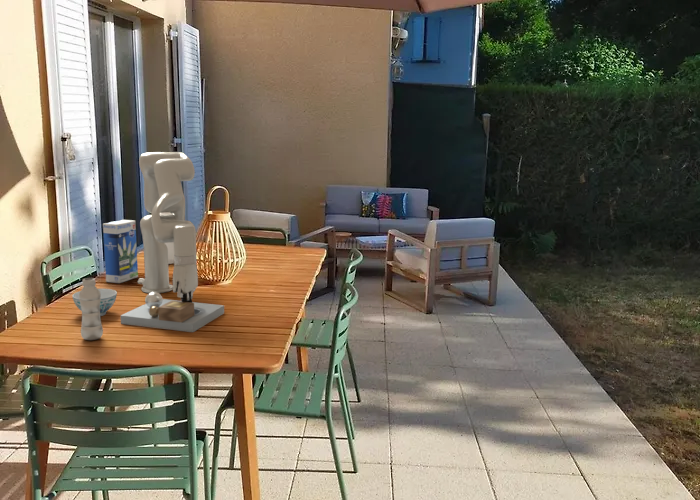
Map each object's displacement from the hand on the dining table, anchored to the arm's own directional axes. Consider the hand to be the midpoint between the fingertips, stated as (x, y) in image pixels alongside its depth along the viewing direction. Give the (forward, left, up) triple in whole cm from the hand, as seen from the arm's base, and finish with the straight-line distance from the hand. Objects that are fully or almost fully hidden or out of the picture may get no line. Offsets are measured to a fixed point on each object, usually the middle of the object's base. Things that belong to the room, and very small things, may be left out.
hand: (187, 310), depth 227 cm
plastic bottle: (-19, -27, -4) cm, 33 cm away
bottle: (-59, +80, -4) cm, 100 cm away
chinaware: (-35, -4, -4) cm, 36 cm away
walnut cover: (0, -7, -1) cm, 7 cm away
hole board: (-6, +1, -4) cm, 7 cm away
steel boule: (-14, +1, +2) cm, 14 cm away
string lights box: (-57, +43, -4) cm, 72 cm away
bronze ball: (-8, -8, +1) cm, 11 cm away
